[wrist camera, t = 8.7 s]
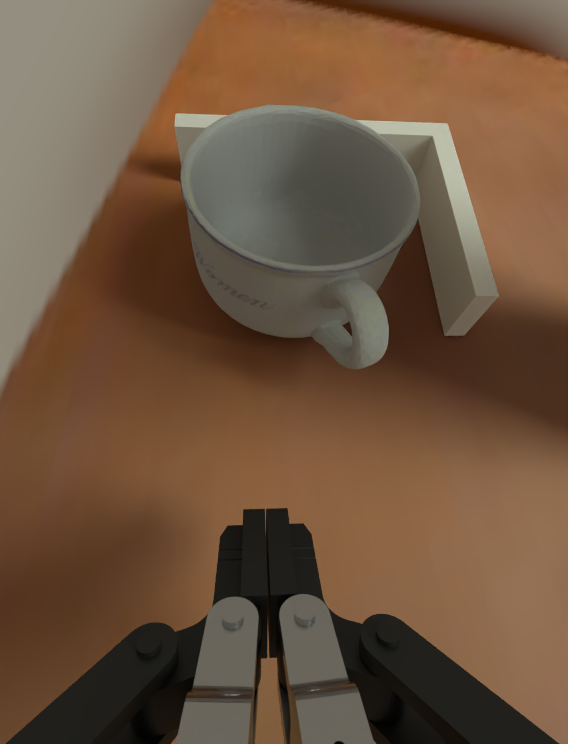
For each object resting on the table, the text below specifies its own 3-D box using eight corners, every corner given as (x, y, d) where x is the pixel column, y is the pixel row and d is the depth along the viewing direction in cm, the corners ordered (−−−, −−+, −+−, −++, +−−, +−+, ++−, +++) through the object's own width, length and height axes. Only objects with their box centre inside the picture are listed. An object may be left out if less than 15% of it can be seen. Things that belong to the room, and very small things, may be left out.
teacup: (194, 222, 28) (173, 98, 20) (356, 211, 29) (389, 90, 22) (213, 427, 22) (193, 356, 15) (413, 401, 23) (486, 324, 16)
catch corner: (424, 176, 31) (447, 123, 27) (464, 335, 25) (498, 296, 22) (185, 169, 30) (175, 113, 26) (171, 335, 24) (156, 293, 20)
